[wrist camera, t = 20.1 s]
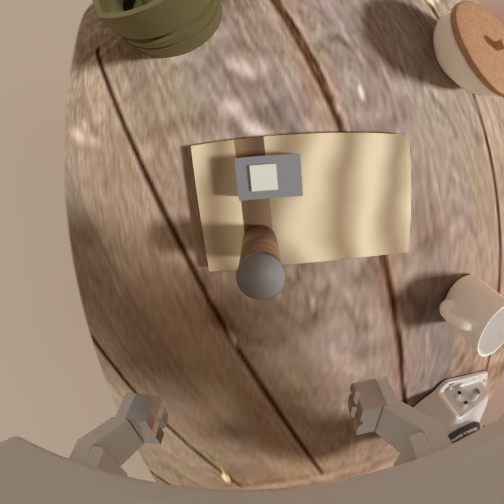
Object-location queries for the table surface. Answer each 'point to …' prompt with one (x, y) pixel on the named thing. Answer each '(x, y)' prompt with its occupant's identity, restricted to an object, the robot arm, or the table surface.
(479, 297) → the mug
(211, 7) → the piston
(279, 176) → the block
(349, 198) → the plank
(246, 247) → the peg
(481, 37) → the lidded bowl
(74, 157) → the table surface
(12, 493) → the robot arm
